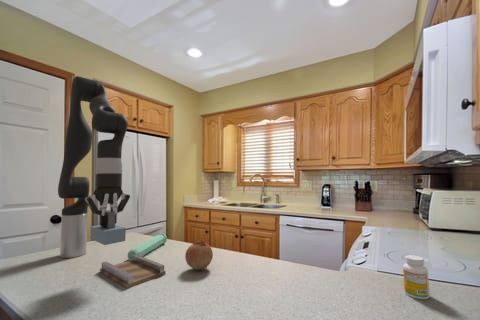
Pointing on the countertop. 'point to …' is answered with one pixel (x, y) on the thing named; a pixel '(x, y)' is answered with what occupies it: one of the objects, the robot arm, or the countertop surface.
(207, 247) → the onion
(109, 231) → the blue block with handle
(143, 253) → the mint green cylinder
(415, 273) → the supplement bottle
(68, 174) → the robot arm
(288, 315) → the countertop surface
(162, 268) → the tray
